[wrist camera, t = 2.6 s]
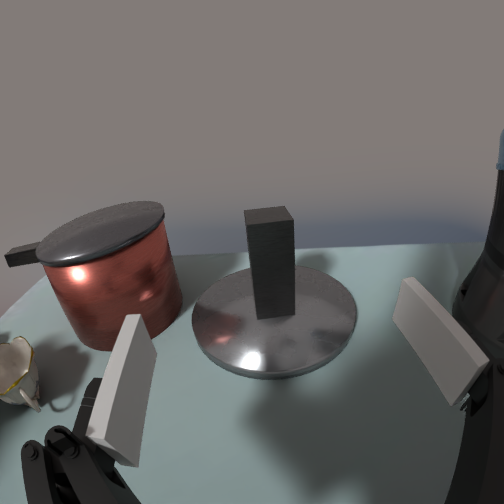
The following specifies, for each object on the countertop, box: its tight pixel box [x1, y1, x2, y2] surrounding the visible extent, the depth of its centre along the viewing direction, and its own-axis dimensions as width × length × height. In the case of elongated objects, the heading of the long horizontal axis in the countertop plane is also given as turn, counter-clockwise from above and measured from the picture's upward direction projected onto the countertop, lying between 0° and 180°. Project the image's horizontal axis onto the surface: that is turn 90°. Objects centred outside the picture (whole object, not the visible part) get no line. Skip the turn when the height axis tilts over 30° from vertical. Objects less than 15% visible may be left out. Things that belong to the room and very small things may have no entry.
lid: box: [192, 206, 356, 380], centre depth 27 cm, size 18×18×12 cm
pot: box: [4, 201, 182, 351], centre depth 30 cm, size 27×17×12 cm, turn 95°
